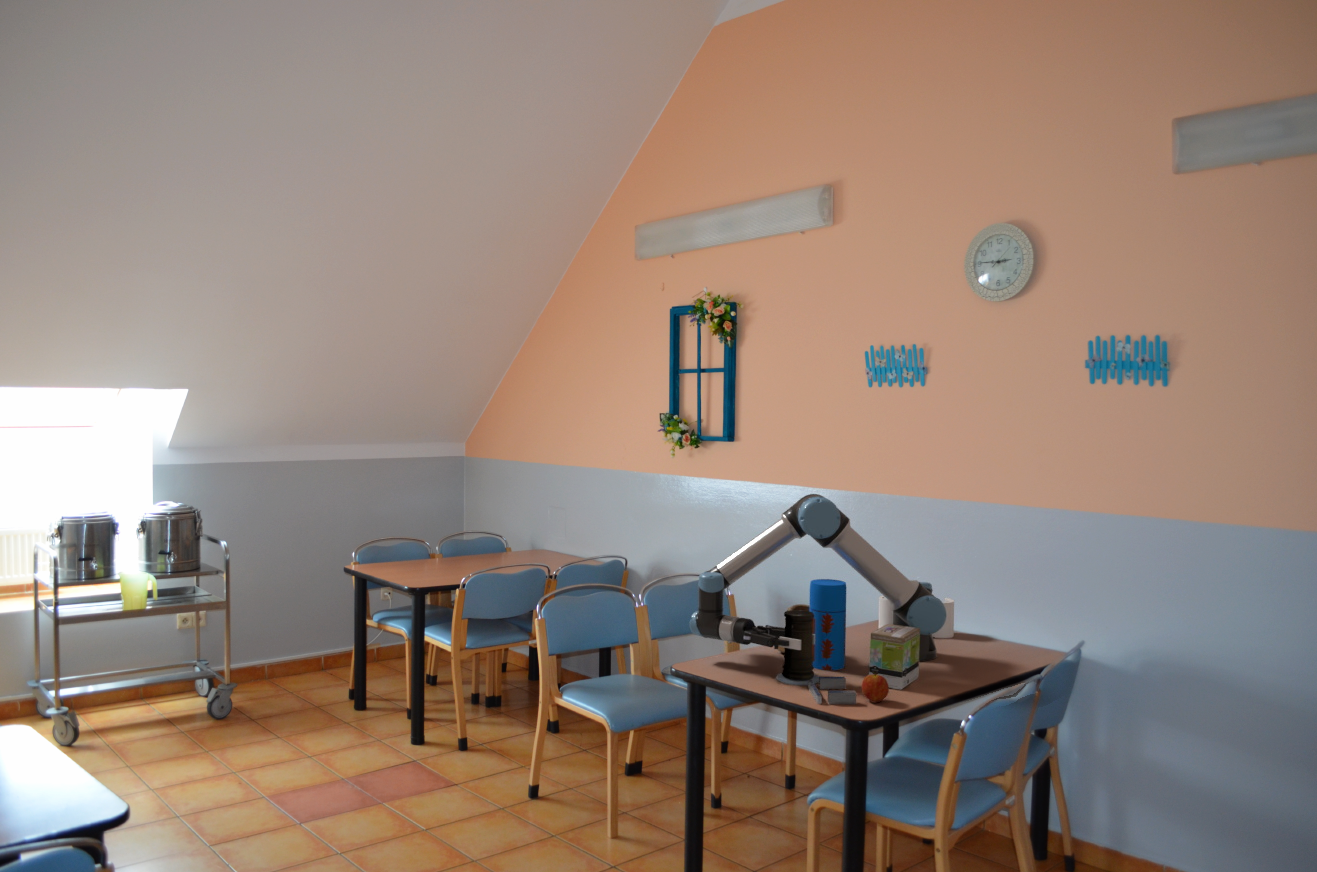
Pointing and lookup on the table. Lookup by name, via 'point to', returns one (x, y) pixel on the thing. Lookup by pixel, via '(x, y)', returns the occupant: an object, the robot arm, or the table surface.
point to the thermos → (828, 623)
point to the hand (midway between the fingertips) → (807, 642)
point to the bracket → (944, 632)
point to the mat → (796, 682)
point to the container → (801, 660)
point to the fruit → (875, 687)
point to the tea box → (895, 654)
